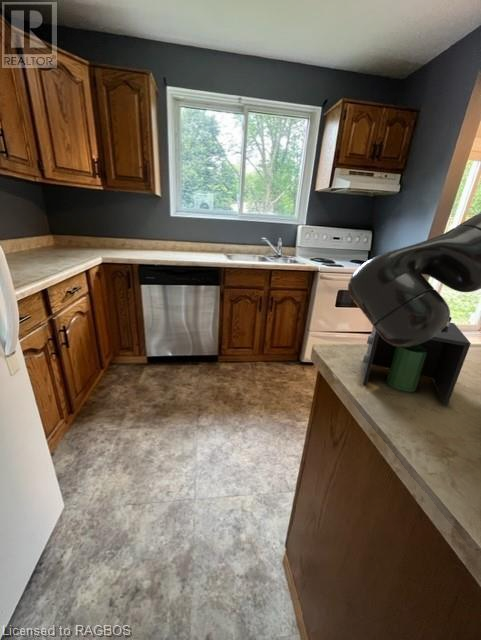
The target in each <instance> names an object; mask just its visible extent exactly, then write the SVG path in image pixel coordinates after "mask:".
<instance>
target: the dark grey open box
mask: <svg viewBox="0 0 481 640" xmlns="http://www.w3.org/2000/svg"><path fill="white" fill-rule="evenodd" d="M366 344H368V346H367V351H366V353H364V354H363V357H362V363H364V368H363V381H362V384H363V386H368V383H369V378H370V374H371V370H372V366H378V367H381V368H386V369H390V365H391V362H392V358H393V354H394V350H395V347H396V346H392V345H390V344H389V343H387V342H386V341H385V340H384V339H383V338H382V337H381V336H380V334H379V333H378V332H377V330H376V329H375V326H373V325H372V329H371V333H370V334H368V336H367V340H366ZM471 344H472V342H470V340H469V339H468V338H467V337H466V335H465V334H464V333H463V332H462V331H461V329H460V328H459V327H458V326H457V325H456V323H454V322H450V325H449V328H448V331H447V332H440V333H438V334H437V335H436V336H435V337H433V338H432V339H430V340H428V341H426V342H424V343H421V345H423V346H425V347H426V348H427V349H428V354H427V357H426V360H425V363H424V366H423V369H422V373H421V376H420V377H424V378H425V377H426V378H430V379H432V381H433V383H434V385H435V388H436V391H437V393H438V396H439V398H440V401H441V404H442V406H444V407H448V405H449V403H450V400H451V397H452V395H453V392H454V389H455V387H456V384H457V381H458V379H459V377H460V373H461V371H462V368H463V366H464V363H465V360H466V357H467V354H468V352H469V349H470V347H471Z"/></svg>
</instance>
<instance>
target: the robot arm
mask: <svg viewBox="0 0 481 640" xmlns="http://www.w3.org/2000/svg"><path fill="white" fill-rule="evenodd" d="M425 276H427V277H430V278H432V279H434V280H436V281H438V282H439V283H441V284H442V285H443V286H445V287H447V288H449V289H450V290H451V289H452V290H454V291H456V292H459V293H473V292H476V291H479V290H481V211H480V212H478V213H476V214H474V215H473V216H472V217H470V218H468V219H466V220H465V221H463V222H461V223H460V224H458V225H456V226H455V227H453V228H452V229H449V230H448V231H446V232H445V233H444V232H443V234H439V235H437V236H435V237H431V238H429V239H426V240H424V241H421V242H418V243H414V244H411V245H408V246H404V247H400V248H397V249H393V250H390V251H387V252H384V253H381V254H379V255H376V256H374V257H372V258H370V259H367V260H366V261H365V262H363V263H362V264H361V265H359V266H358V267H357V268H356V270H354V272H353V273H352V275H351V277H350V278H349V281H348V285H347V292H348V294H349V296H350V298H351V299H352V301H353V302H354V303H355V304H356V305H357V307H358V309H360V311H361V312H362V314H364V315H363V316H364V317H366V319H367V320H368V321H369V322H370V324H371V325H372V327H373V326H375V329H376V330H377V332H378V333H379V334H380V336H381V337H382V338H383V339H384V340H385V341H386V342H387V343H389V344H390V345H392V346H396V347H410V346H415V345H419V344H421V343H424V342H426V341H428V340H430V339H432V338H433V337H435V336H436V335H437V334H438V333H440V332H447V331H448V328H449V325H450V323H451V322H452V316H451V309H450V306H449V305H448V303H447V301H446V300H445V298H444V297H442V295H441V294H440V293H439V291H437V290H436V289H435V287H434V286H433V285H432V284H431V283H430V282H429V281H428V280H427V279H426V278H425Z"/></svg>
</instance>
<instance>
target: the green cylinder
mask: <svg viewBox="0 0 481 640" xmlns="http://www.w3.org/2000/svg"><path fill="white" fill-rule="evenodd" d="M427 354H428V349H427V348H426V347H425V346H423V345H421V344H419V345H415V346H410V347H395V350H394V354H393V358H392V362H391V365H390V368H388V372H387V377H386V382H387V384H388V385H390V386H391V387H392V388H395V389H396V390H399V391H403V392H409V393H410V392H415V391H416V390H417V387H418V386H419V382H420V379H421V377H422V376H421V373H422V369H423V366H424V363H425V360H426V357H427Z"/></svg>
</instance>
